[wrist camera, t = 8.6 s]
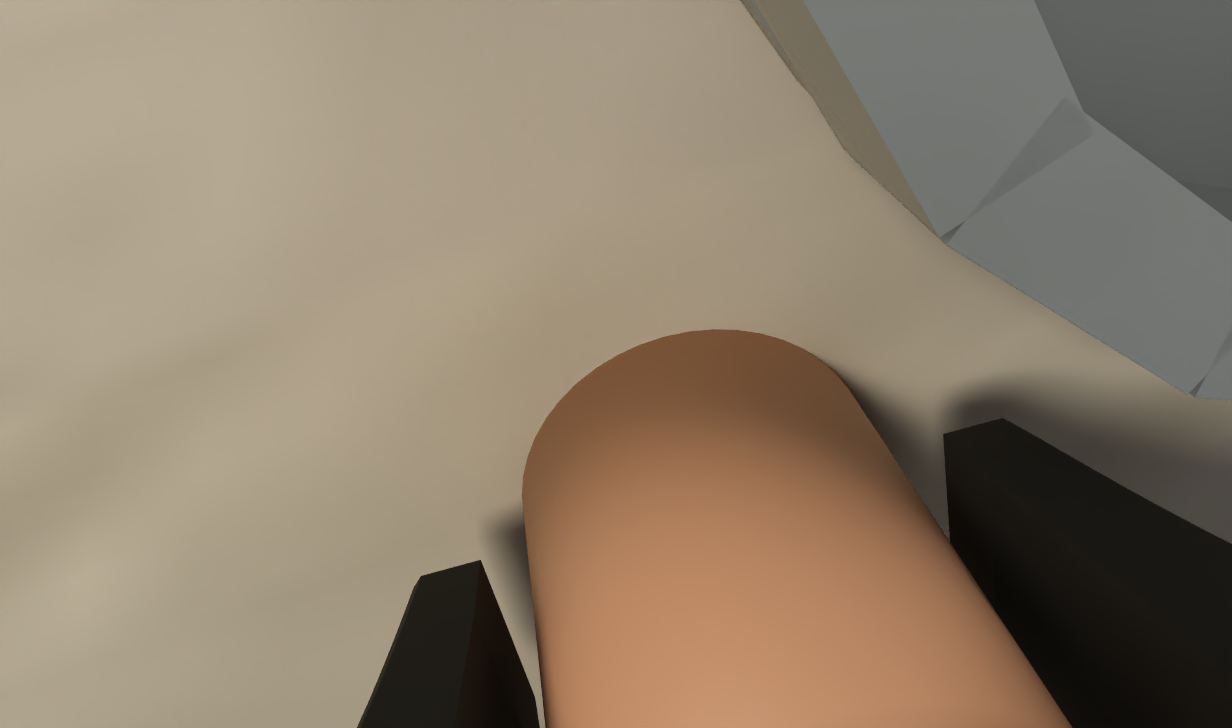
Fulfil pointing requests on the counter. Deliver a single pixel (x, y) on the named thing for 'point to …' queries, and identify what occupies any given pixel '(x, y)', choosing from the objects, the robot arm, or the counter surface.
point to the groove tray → (1050, 150)
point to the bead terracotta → (749, 557)
